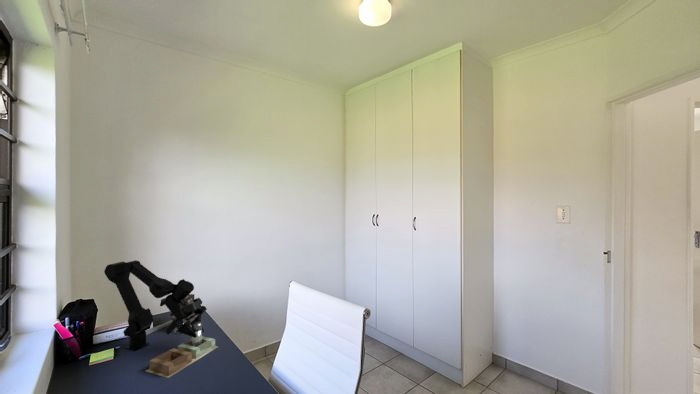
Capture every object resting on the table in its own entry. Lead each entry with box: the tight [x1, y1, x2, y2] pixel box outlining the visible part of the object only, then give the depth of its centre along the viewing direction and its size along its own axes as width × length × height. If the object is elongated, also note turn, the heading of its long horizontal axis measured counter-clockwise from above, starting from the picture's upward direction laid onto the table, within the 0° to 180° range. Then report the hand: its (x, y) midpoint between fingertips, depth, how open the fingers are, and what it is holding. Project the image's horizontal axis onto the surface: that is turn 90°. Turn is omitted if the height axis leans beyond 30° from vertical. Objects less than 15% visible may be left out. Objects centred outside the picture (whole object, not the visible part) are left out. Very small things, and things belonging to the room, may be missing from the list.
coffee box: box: [171, 293, 195, 334], centre depth 149 cm, size 9×6×16 cm
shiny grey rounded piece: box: [190, 320, 203, 347], centre depth 126 cm, size 4×4×11 cm
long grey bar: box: [145, 319, 172, 336], centre depth 153 cm, size 25×6×2 cm, turn 153°
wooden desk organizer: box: [145, 335, 219, 379], centre depth 121 cm, size 12×24×4 cm, turn 160°
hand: (199, 334), depth 126 cm, fingers open, 4 cm apart
